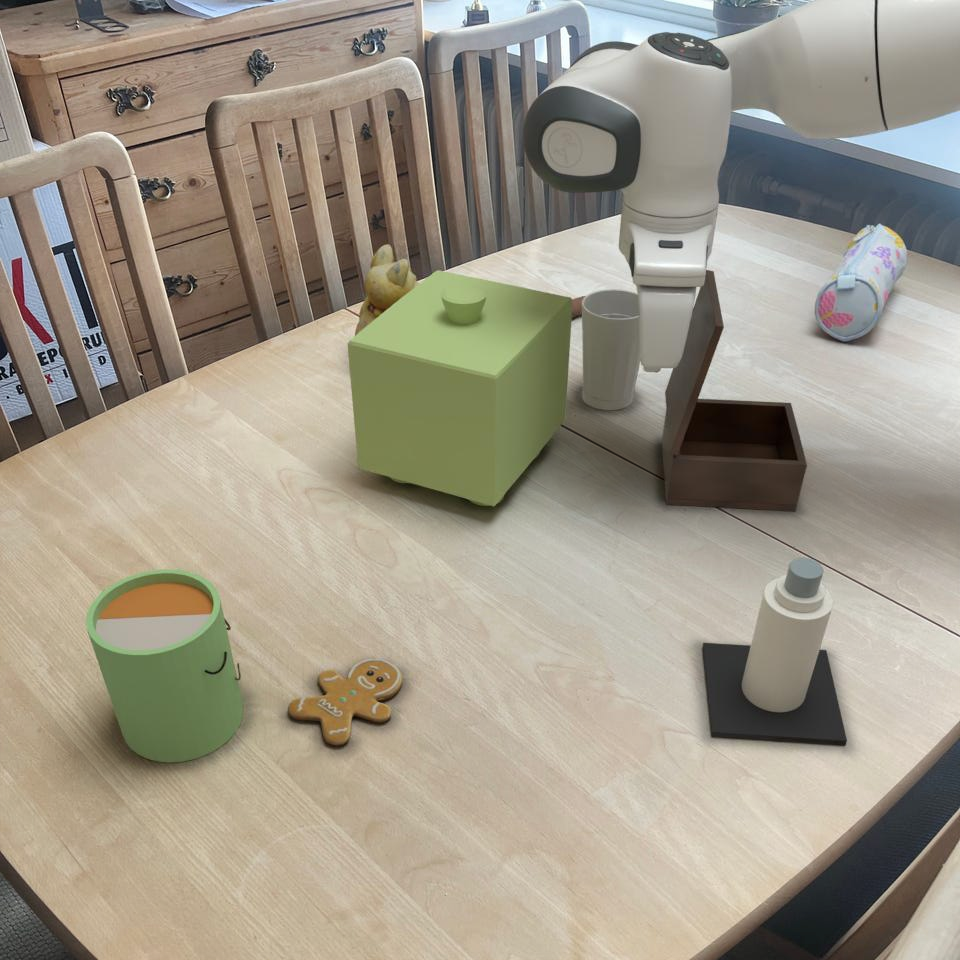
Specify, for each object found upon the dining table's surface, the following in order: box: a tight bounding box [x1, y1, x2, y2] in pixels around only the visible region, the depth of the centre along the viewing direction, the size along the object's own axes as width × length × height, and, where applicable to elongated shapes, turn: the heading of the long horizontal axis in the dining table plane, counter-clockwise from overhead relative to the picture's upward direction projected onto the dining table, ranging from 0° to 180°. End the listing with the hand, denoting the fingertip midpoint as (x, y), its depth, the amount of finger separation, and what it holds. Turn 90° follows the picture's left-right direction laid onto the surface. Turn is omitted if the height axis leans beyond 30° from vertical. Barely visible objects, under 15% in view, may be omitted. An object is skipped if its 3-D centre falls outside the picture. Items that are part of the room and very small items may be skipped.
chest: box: [661, 398, 808, 512], centre depth 114 cm, size 14×13×6 cm
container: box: [347, 269, 573, 507], centre depth 111 cm, size 19×16×20 cm
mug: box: [85, 568, 244, 763], centre depth 86 cm, size 13×10×12 cm
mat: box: [702, 642, 848, 746], centre depth 91 cm, size 11×11×1 cm
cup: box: [581, 288, 641, 411], centre depth 124 cm, size 8×8×12 cm
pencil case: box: [814, 223, 908, 342], centre depth 142 cm, size 21×9×10 cm, turn 154°
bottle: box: [742, 557, 834, 712], centre depth 86 cm, size 5×5×14 cm
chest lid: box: [664, 269, 725, 455], centre depth 107 cm, size 14×13×1 cm
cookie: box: [287, 658, 403, 746], centre depth 90 cm, size 8×1×10 cm
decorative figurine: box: [354, 243, 420, 336], centre depth 129 cm, size 10×8×15 cm
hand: (651, 365), depth 108 cm, fingers closed
